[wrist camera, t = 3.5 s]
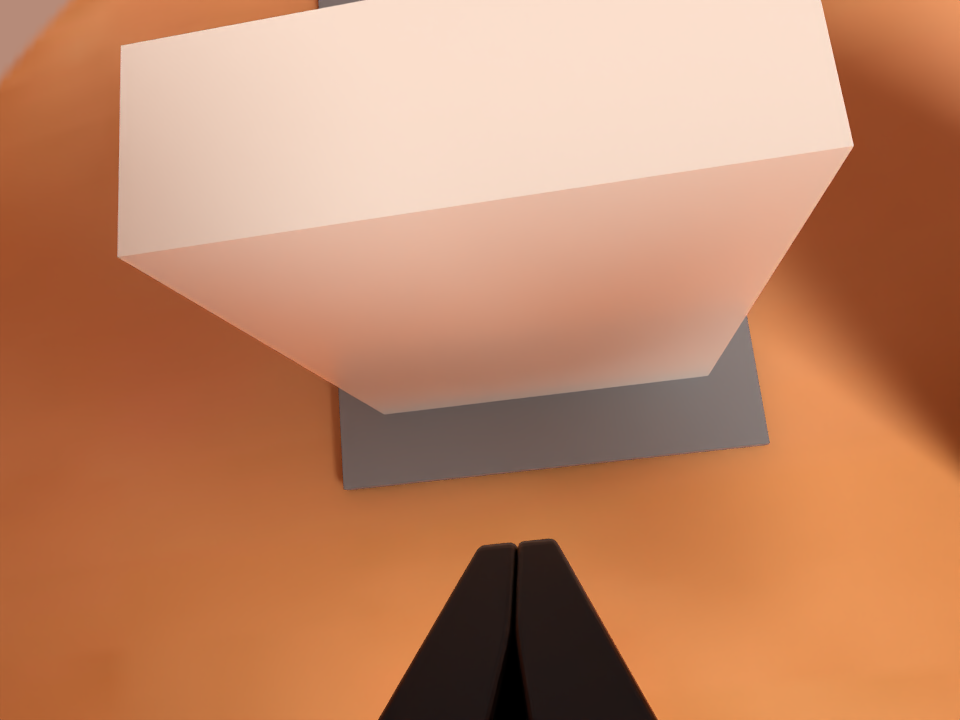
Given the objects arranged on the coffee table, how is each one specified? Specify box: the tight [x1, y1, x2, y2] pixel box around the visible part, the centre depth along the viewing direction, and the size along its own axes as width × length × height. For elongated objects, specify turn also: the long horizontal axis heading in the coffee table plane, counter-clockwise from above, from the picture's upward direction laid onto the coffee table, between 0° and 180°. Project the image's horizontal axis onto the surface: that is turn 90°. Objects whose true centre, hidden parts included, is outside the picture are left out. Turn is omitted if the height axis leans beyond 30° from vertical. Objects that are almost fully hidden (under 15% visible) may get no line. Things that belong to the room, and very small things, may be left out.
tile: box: [117, 0, 854, 415], centre depth 13 cm, size 2×7×10 cm, turn 95°
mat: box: [318, 0, 770, 490], centre depth 19 cm, size 14×9×1 cm, turn 5°
